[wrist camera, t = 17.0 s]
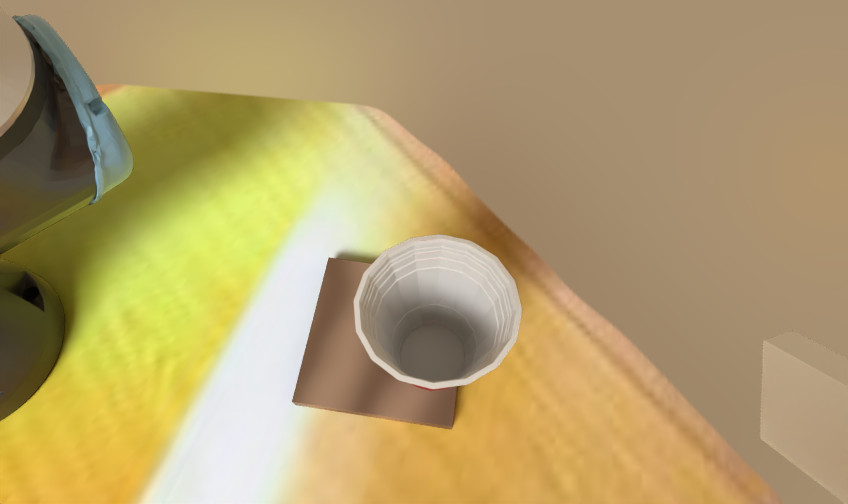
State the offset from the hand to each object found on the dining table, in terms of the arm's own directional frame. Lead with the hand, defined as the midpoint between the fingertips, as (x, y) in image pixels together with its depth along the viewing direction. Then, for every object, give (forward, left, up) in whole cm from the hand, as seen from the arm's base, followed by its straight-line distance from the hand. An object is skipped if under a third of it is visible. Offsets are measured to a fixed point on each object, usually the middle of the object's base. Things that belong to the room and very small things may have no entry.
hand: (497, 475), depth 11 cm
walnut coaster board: (-6, +12, -33) cm, 35 cm away
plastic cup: (-2, +11, -31) cm, 33 cm away
